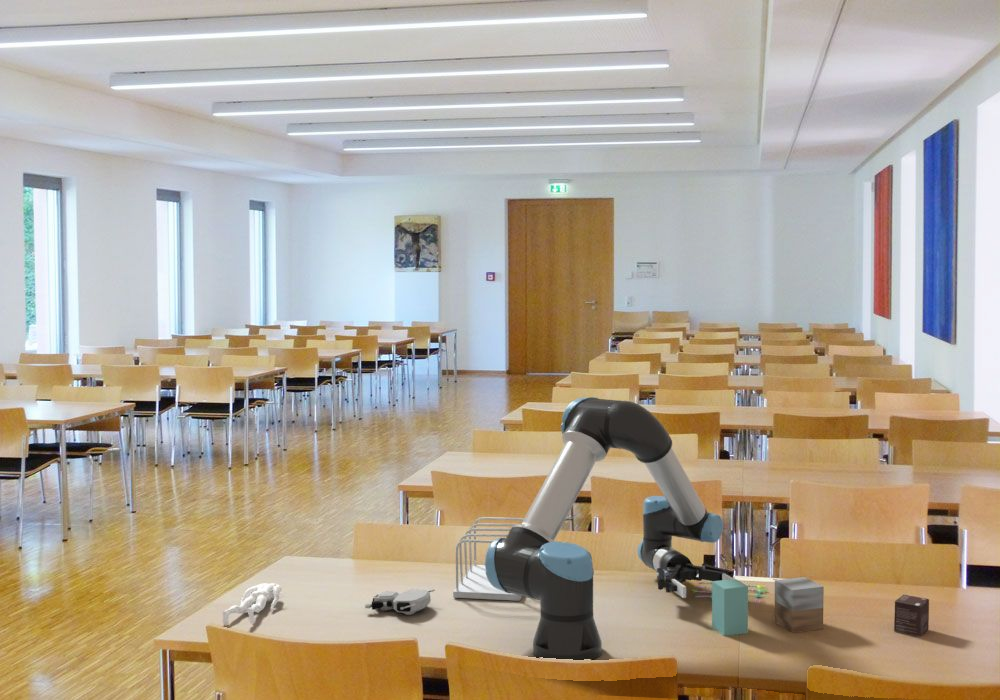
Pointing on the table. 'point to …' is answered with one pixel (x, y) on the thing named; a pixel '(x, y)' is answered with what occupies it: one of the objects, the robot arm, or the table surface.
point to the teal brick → (730, 607)
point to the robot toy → (401, 601)
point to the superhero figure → (255, 601)
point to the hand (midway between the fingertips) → (710, 589)
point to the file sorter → (480, 566)
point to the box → (911, 615)
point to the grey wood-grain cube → (799, 604)
